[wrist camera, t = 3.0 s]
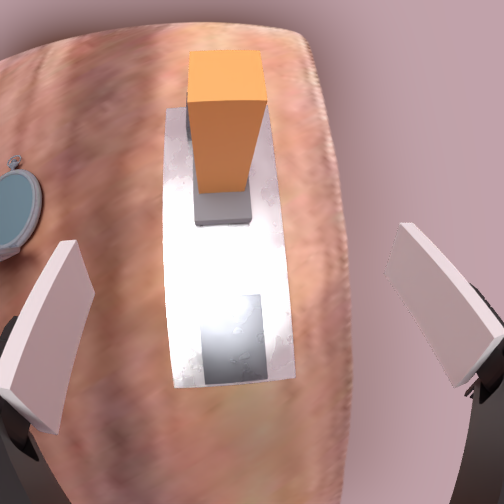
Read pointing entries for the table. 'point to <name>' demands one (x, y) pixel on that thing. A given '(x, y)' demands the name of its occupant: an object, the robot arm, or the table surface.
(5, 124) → the table surface
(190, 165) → the base
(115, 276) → the table surface
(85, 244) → the table surface
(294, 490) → the table surface
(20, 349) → the robot arm
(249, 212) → the handle
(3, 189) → the pocket watch
